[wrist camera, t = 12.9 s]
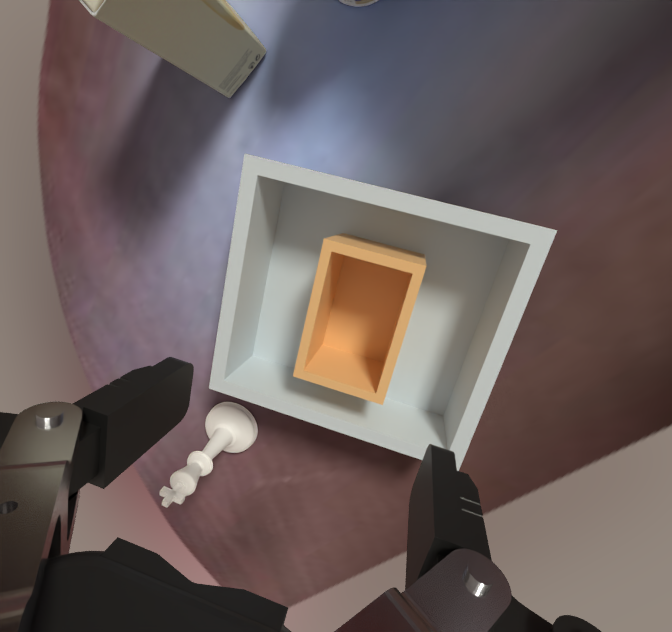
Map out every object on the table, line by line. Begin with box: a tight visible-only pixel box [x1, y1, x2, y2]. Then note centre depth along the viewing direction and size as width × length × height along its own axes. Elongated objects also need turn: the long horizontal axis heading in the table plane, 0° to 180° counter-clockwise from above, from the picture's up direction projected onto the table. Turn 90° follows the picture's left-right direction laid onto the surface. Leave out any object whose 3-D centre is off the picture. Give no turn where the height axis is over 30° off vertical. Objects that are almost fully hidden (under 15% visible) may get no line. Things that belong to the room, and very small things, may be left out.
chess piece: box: [159, 402, 258, 507], centre depth 31 cm, size 5×5×10 cm
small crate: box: [293, 233, 426, 405], centre depth 26 cm, size 6×9×6 cm, turn 166°
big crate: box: [209, 154, 557, 471], centre depth 27 cm, size 18×16×6 cm
